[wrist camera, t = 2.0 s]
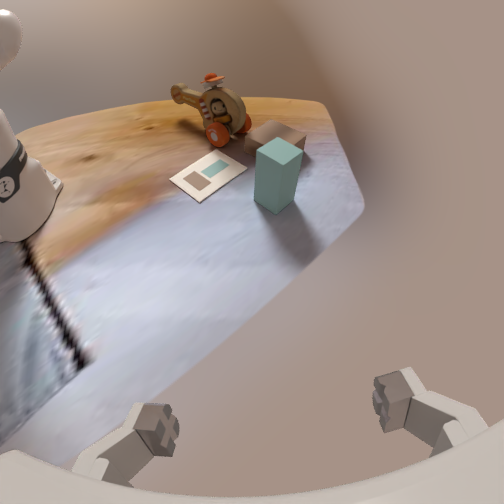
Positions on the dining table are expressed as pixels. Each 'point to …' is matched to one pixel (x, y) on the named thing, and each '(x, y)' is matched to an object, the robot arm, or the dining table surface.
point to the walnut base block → (272, 136)
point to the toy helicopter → (215, 109)
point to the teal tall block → (276, 174)
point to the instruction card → (207, 175)
